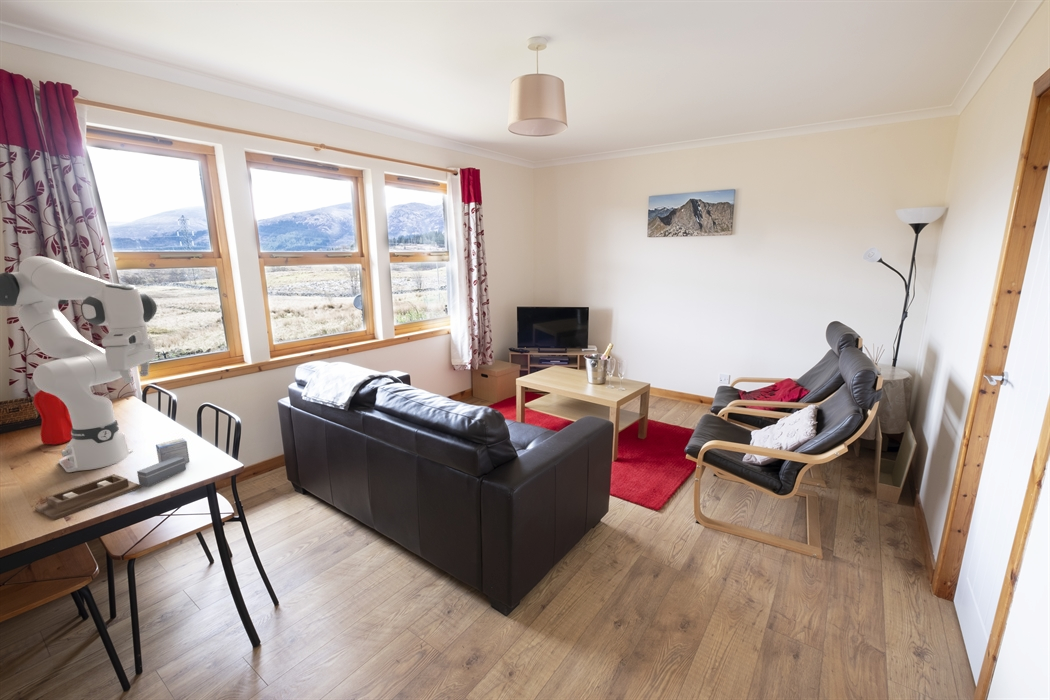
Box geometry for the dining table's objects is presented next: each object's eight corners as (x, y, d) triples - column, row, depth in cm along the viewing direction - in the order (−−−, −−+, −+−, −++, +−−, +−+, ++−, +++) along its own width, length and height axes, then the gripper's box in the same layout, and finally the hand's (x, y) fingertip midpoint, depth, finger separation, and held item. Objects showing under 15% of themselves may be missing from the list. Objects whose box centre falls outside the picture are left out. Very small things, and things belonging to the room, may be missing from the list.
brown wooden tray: (35, 510, 130) (33, 498, 129) (120, 480, 148) (118, 470, 147) (55, 519, 125) (52, 508, 124) (140, 487, 143) (138, 477, 142)
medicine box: (186, 460, 163) (183, 437, 161) (190, 463, 160) (186, 440, 159) (159, 467, 157) (155, 444, 155) (162, 471, 154) (158, 447, 153)
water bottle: (87, 435, 187) (76, 377, 183) (58, 446, 177) (45, 384, 172) (68, 435, 188) (56, 376, 184) (37, 445, 178) (24, 383, 173)
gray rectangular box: (139, 485, 144) (136, 471, 144) (178, 469, 156) (176, 456, 155) (148, 487, 143) (145, 473, 142) (186, 471, 155) (184, 457, 154)
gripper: (135, 332, 149) (142, 373, 152) (97, 341, 130) (106, 388, 132) (157, 331, 151) (164, 371, 153) (123, 340, 132) (132, 386, 134)
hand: (137, 379), depth 143 cm, fingers open, 8 cm apart
